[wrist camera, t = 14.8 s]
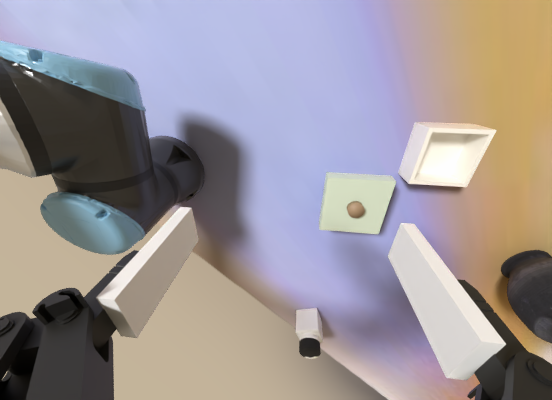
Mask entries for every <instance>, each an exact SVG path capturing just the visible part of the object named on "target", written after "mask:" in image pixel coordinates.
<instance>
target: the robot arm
mask: <svg viewBox="0 0 552 400" xmlns="http://www.w3.org/2000/svg"><path fill="white" fill-rule="evenodd" d="M145 111H146V109H145V107H144V106H143V103H142V99H141V94H140V90H139V85H138V83H137V81H136V79H135V78H134V77H133V75H131V74H130V73H129V72H128V71H126V70H124V69H121V68H118V67H114V66H110V65H105V64H101V63H97V62H93V61H89V60H84V59H80V58H75V57H71V56H67V55H63V54H59V53H54V52H50V51H45V50H41V49H37V48H32V47H27V46H23V45H18V44H14V43H10V42H5V41H0V168H2V169H8V170H11V171H14V172H16V173H19V174H22V175H25V176H28V177H31V178H32V177H37V176H43V175H49V174H52V177H53V179H54V181H55V184H56V186H57V188H58V192H55V193H51V194H49V195H48V196H47V198H46V199H45V200H44V201H43V203H42V204H41V207H40V210H41V214H42V216H43V218H44V220H45V221H46V223H47V224H48V225H49V226H50V227H51V228H52V229H53V230H54V231H55V232H56V233H57V234H58V235H60V236H61V237H63V238H64V239H65V240H67V241H69V242H71V243H73V244H74V245H76V246H78V247H80V248H83V249H85V250H88V251H91V252H94V253H99V254H107V255H111V254H112V255H113V254H119V253H123V252H125V251H127V250H128V249H130V248H131V247H132V246H133V245H134V244H136V243H137V242H138V241H140V240H142V239H143V238H144V236H145V235H146V234H147V233H148V232H149V231H150V230H151V229H152V227H153V226H154V225H155V224H156V223H157V222H158V221H159V220H160V219H161V218H162V217H163V216H164V215H165V214H166V213H167V212H168V211H169V210H170V209H171V208H172V207H173V206H174V205H177V204H180V203H182V202H185V201H187V200H189V199H191V198H193V197H194V196H195V195H196V194H197V193H198V192H199V190H200V189H201V188H202V185H203V183H204V169H203V166H202V163H201V161H200V159H199V158H198V156H197V155H196V153H195V152H194V151H193V150H192V149H191V148H190V147H189V146H188V145H186V144H185V143H183V142H182V141H180V140H178V139H176V138H173V137H169V136H156V137H153V138H150V139H149V136H148V130H147V123H146V117H145ZM198 241H199V239H198V234H197V230H196V225H195V221H194V216H193V211H192V208H188V207H180V208H179V209H178V210H177V211H176V212H175V213H174V214H173V216H172V217H171V218H170V219H169V220H168V221H167V222H166V223H165V224H164V225H163V226H162V227H161V228H160V230H159V231H158V232H157V233H156V234H155V235H154V236H153V237H152V238H151V239H150V240H149V241H148V242H147V244H146V245H145V246H144V247H143V248H142V249H141V250H140V251H135V250H134V251H132V252H131V253H129V254H128V255H126V256H125V257H123V258H122V259H121V260H120V261H119V262H118V263H117V264H116V267H114V268H112V269H111V271H109V274H107V275H106V276H105V277H104V278H103V279H102V280H101V281H100V282H99V283H98V284H97V285H96V286H95V287H94V288H93V289H92V290H91V291H90V292H89V293H88V294H87V295H86V296H85V297H83V296H82V294H81V293H80V292H79V290H77V289H75V288H66V289H62V290H59V291H57V292H54V293H52V294H50V295H49V296H47V297H46V298H44V299H43V300H42V301H41V302H40V303H39V304H38V305H36V307H35V308H34V310H33V314H34V315H35V316H36V317H37V318H33V319H30V318H29V317H28V316H27V315H26V314H25V313H22V312H15V313H11V314H8V315H5V316H2V317H1V318H0V400H114V386H113V385H114V383H113V382H114V379H113V340H112V337H111V335H112V334H113V333H114V331H115V330H116V329H117V330H118V332H119V334H120V335H121V336H125V337H133V338H137V337H138V336H139V334H140V332H141V331H142V329H143V328H144V326H145V325H146V323H147V321H148V320H149V318H150V316H151V315H152V313H153V312H154V310H155V308H156V307H157V306H158V304H159V302H160V301H161V299H162V297H163V296H164V294H165V293H166V291H167V290H168V288H169V286H170V285H171V283H172V282H173V280H174V278H175V277H176V275H177V274H178V272H179V270H180V269H181V268H182V266H183V264H184V263H185V261H186V260H187V258H188V256H189V255H190V253H191V252H192V250H193V248H194V247H195V245H196V244H197V242H198ZM388 258H389V260H390V262H391V264H392V266H393V268H394V270H395V272H396V274H397V276H398V278H399V280H400V283H401V285H402V287H403V289H404V291H405V293H406V295H407V297H408V299H409V301H410V303H411V305H412V308H413V310H414V312H415V314H416V316H417V318H418V320H419V322H420V324H421V326H422V328H423V330H424V332H425V335H426V337H427V339H428V341H429V343H430V345H431V347H432V349H433V351H434V353H435V355H436V357H437V360H438V362H439V364H440V366H441V368H442V370H443V372H444V374H445V376H446V378H452V379H460V380H468V379H469V378H470V377H471V376H472V375H473V374H474V373H475V375H476V377H477V378H478V380H479V382H480V384H479V385H478V386H476V387H475V388H474V389H473V390H472V391H470V392H469V394H468V396H467V397H469V398H470V399H471V398H473V397H474V396H475V395H476V396H475V400H552V364H550V363H549V362H547V361H546V360H544V359H543V358H541V357H539V356H537V355H535V354H532V353H529V352H528V351H527V350H526V349H525V348H524V347H523V345H522V344H521V343H520V342H519V341H518V339H517V338H516V337H515V336H514V335H513V333H512V332H511V331H510V330H509V328H508V327H507V326H506V325H505V324H504V322H503V321H502V320H501V319H500V318H499V316H498V315H497V314H496V313H494V312H493V311H494V310H493V309H492V308H491V307H490V305H489V304H488V303H486V300H485V299H484V298H483V297H482V296H481V294H480V293H479V292H478V291H477V290H476V289H475V288H474V287H472V286H471V285H470V284H469V283H467V282H466V281H465V280H457V279H456V278H455V277H454V275H453V274H452V273H451V271H450V270H449V269H448V268H447V266H446V265H445V264H444V262H443V261H442V260H441V258H440V257H439V256H438V254H437V253H436V252H435V251H434V249H433V248H432V247H431V245H430V244H429V243H428V241H427V240H426V239H425V238H424V236H423V235H422V234H421V232H420V231H419V230H418V228H417V227H416V226H415V224H408V223H401V224H400V226H399V229H398V232H397V234H396V237H395V239H394V242H393V244H392V247H391V249H390V252H389V255H388ZM7 371H8V372H7ZM6 372H7V374H6V376H5V377H4V375H5V373H6ZM3 377H4V378H3ZM2 378H3V380H2ZM1 380H2V381H1Z"/></svg>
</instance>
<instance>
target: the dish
mask: <svg viewBox="0 0 552 400" xmlns="http://www.w3.org/2000/svg"><path fill="white" fill-rule="evenodd" d="M495 132H496V130H494V129H491V128H487V127H483V126H480V125H476V124H459V123H430V122H415V124H414V127H413V130H412V133H411V136H410V139H409V142H408V145H407V148H406V151H405V154H404V157H403V160H402V163H401V166H400V169H399V172H398V174H399V175H400V176H401V177H402V178H403V179H404V180H405V181H406V182H407V183H408V184H422V185H439V186H456V187H467V185H468V183H469V181H470V179H471V177H472V176H473V174H474V172H475V170H476V168H477V166H478V164H479V162H480V160H481V159H482V157H483V155H484V153H485V151H486V149H487V147H488V145H489V143H490V142H491V140H492V138H493V136H494V134H495Z"/></svg>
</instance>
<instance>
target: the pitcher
mask: <svg viewBox="0 0 552 400" xmlns="http://www.w3.org/2000/svg"><path fill="white" fill-rule="evenodd" d="M501 271H502V273H503V275H504V276H506V277H508V278H509V282H508V286H507V296H508V300H509V303H510V305H511V307H512V309H513V310H514V312H515V313H516V315H517V316H518V317H519V318H520V319H521V321H522V322H523V323H524V324H525V325H526V326H527V327H528V328H529V329H530V330H531V331H532V332H533V333H534V334H535V335H536V336H537V337H539V338H541V339H543V340H545V341H547V342H550V343H552V257H551V256H550V255H549V254H548V253H547V252H544V251H540V250H533V251H525V252H521V253H519V254H516V255H514V256H512V257H510V258H509V259H507V260H506V261H505V262H504V263H503V265H502V267H501Z"/></svg>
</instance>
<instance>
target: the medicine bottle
mask: <svg viewBox="0 0 552 400" xmlns="http://www.w3.org/2000/svg"><path fill="white" fill-rule="evenodd" d="M295 332H296V334H297V336H298V338H299V340H300V346H299V352H300V354H301V355H302V356H303V357H305V358H310V359H313V358H317V357H319V355H320V343H322V342H323V332H322V320H321V318H320V315H319V312H318V310H317V308H310V309H300V310H296V325H295Z"/></svg>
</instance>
